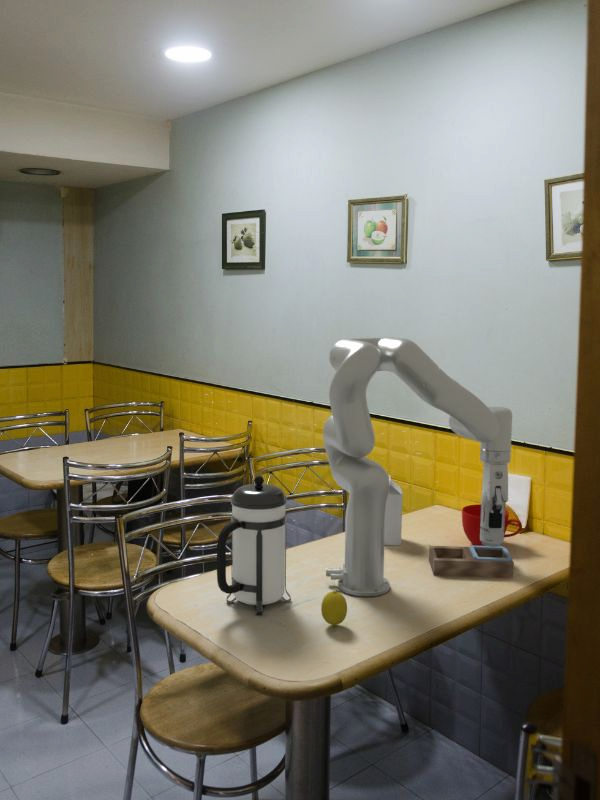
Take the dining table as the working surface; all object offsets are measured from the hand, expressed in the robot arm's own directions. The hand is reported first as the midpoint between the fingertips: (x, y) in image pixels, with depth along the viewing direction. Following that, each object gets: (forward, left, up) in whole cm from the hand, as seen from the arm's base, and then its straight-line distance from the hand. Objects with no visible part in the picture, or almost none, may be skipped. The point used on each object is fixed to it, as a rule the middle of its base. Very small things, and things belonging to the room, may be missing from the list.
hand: (492, 523), depth 191 cm
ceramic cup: (+4, +18, -13) cm, 23 cm away
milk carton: (-25, +19, -13) cm, 34 cm away
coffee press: (-58, -27, -13) cm, 65 cm away
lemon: (-40, -37, -13) cm, 56 cm away
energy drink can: (0, 0, -6) cm, 6 cm away
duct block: (-5, 0, -12) cm, 14 cm away
